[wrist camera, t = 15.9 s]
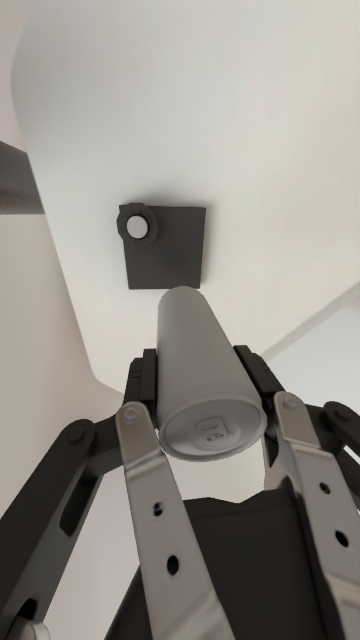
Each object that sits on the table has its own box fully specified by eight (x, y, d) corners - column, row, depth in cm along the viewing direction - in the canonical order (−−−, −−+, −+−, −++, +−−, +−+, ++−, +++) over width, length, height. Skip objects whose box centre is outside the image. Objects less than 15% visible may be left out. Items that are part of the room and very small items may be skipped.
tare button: (129, 236, 26) (128, 238, 25) (127, 215, 25) (125, 215, 23) (148, 237, 26) (147, 238, 25) (147, 216, 25) (146, 216, 24)
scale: (128, 286, 32) (125, 293, 30) (118, 203, 26) (114, 202, 24) (198, 285, 33) (201, 292, 31) (204, 206, 27) (208, 205, 25)
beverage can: (169, 335, 19) (181, 473, 9) (148, 296, 17) (132, 423, 7) (212, 317, 19) (278, 444, 9) (196, 275, 17) (260, 378, 6)
